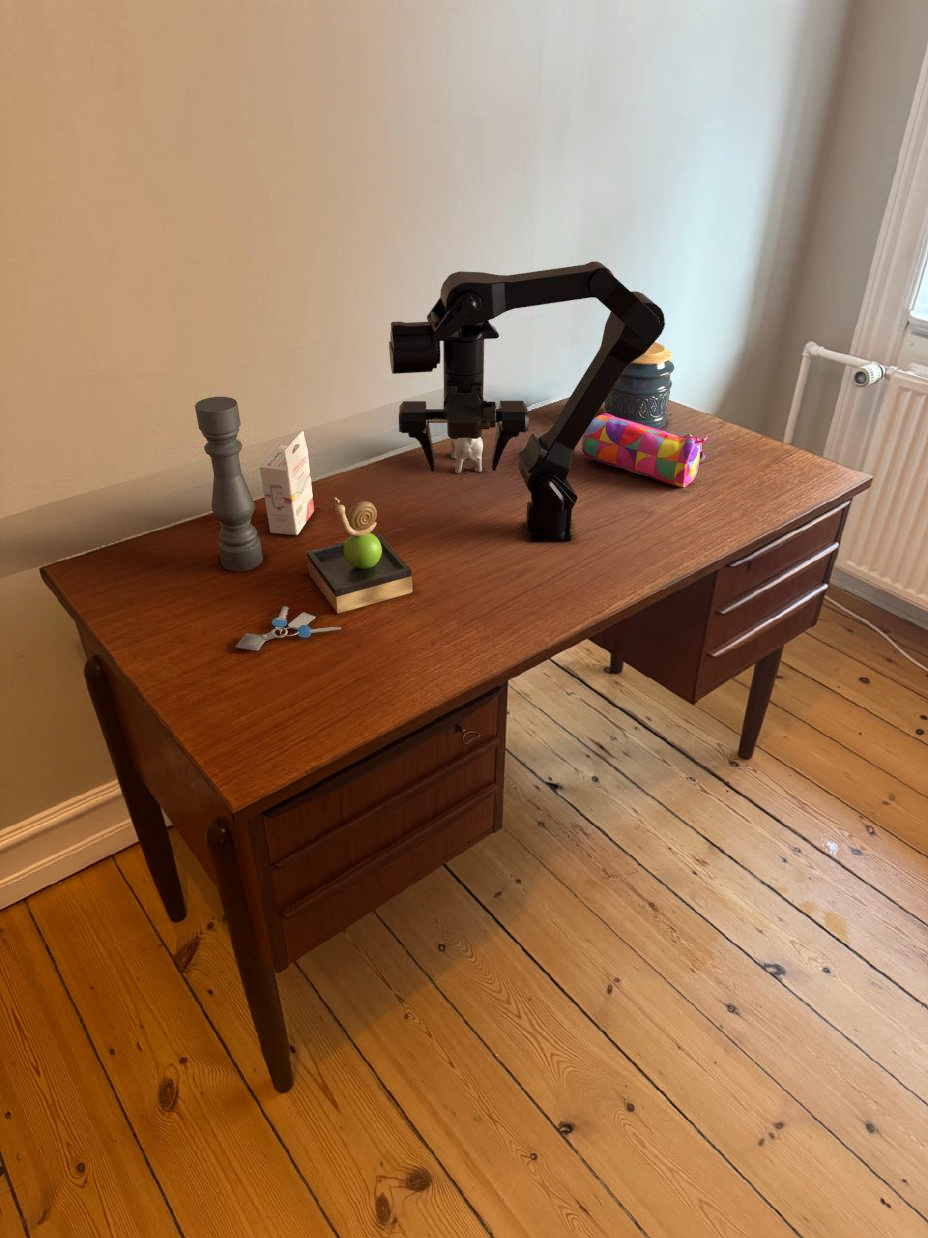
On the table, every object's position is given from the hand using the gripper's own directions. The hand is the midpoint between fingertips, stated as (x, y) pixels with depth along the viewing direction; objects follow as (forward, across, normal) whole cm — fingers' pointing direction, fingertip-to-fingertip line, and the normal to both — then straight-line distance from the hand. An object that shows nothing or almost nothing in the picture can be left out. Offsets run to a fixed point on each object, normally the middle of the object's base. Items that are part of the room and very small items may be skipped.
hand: (463, 470), depth 133 cm
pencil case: (+12, +33, +24) cm, 43 cm away
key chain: (+12, -25, -24) cm, 37 cm away
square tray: (+12, -16, -13) cm, 23 cm away
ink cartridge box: (+12, -28, +6) cm, 31 cm away
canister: (+12, +36, +47) cm, 61 cm away
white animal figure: (+12, +1, +29) cm, 31 cm away
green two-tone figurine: (+9, -15, -13) cm, 22 cm away
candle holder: (+12, -34, -6) cm, 37 cm away
